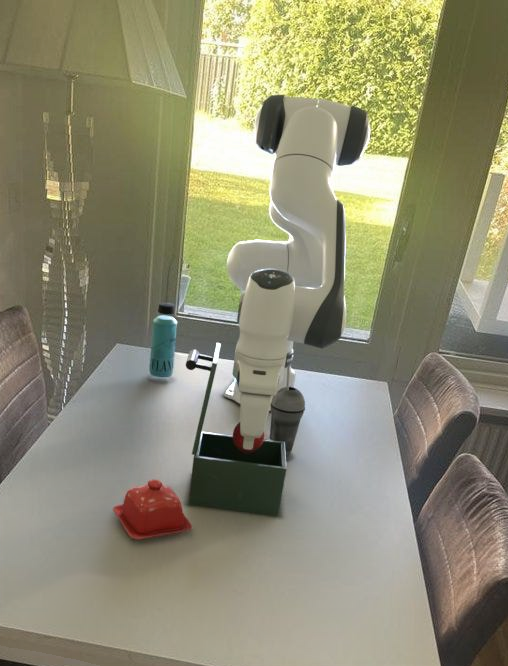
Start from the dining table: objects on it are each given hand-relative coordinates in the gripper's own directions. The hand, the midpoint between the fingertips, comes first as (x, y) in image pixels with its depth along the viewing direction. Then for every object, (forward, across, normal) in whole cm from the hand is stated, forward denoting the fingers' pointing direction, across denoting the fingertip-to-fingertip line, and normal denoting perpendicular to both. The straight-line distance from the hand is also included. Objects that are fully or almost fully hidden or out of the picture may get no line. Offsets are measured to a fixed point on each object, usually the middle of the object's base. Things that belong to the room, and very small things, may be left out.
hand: (248, 439), depth 127 cm
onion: (+3, 0, 0) cm, 3 cm away
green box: (+12, 0, -1) cm, 12 cm away
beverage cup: (+12, -20, +8) cm, 25 cm away
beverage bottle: (+12, -58, -23) cm, 64 cm away
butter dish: (+12, +14, -15) cm, 24 cm away
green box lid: (-7, 0, -8) cm, 11 cm away
